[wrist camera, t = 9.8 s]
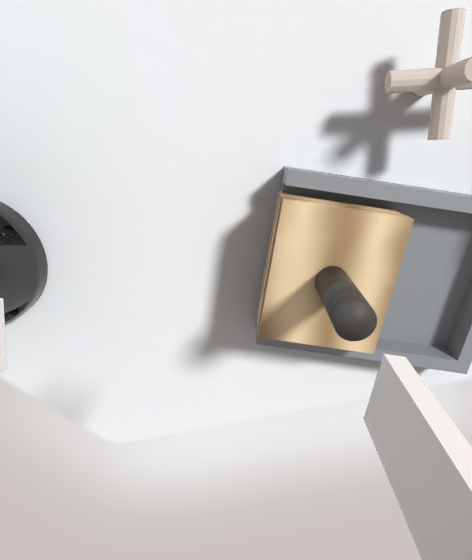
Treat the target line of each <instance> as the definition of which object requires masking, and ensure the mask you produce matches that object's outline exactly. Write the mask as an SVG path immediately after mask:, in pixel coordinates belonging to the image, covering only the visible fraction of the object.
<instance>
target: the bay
mask: <svg viewBox="0 0 472 560" xmlns="http://www.w3.org/2000/svg"><path fill="white" fill-rule="evenodd" d="M280 192H284V193H290V194H297V195H304V196H310V197H317V198H323V199H330V200H336V201H343V202H350V203H356V204H363V205H369V206H376V207H382V208H389V209H393V210H396V211H399V213H401V214H404V215H407V216H409V217H410V218H412V219H414V222H413V225H412V228H411V232H410V235H409V239H408V242H407V245H406V249H405V252H404V255H403V259H402V262H401V265H400V269H399V272H398V275H397V279H396V282H395V285H394V289H393V292H392V295H391V299H390V302H389V305H388V309H387V312H386V315H385V319H384V322H383V325H382V329H381V332H380V335H379V339H378V342H377V345H376V349H375V352H374V354H370V353H363V352H356V351H349V350H343V349H336V348H329V347H322V346H315V345H308V344H301V343H294V342H287V341H281V340H274V339H267V338H260V337H258V333H257V327H258V326H257V322H256V343H257V344H263V345H270V346H277V347H284V348H291V349H298V350H304V351H311V352H318V353H325V354H332V355H339V356H346V357H353V358H360V359H367V360H374V361H380V362H381V361H382V358H383V355H384V354H389V355H396V356H403V357H406V358H407V360H408V361H409V362H410V364H411V365H412V366H415V367H422V368H429V369H436V370H443V371H450V372H456V373H463V374H467V371H468V369H469V366H470V364H471V361H472V195H467V194H460V193H454V192H447V191H441V190H434V189H428V188H421V187H415V186H408V185H402V184H395V183H389V182H382V181H376V180H369V179H363V178H356V177H350V176H343V175H337V174H330V173H323V172H317V171H310V170H304V169H297V168H291V167H284V172H283V178H282V183H281V189H280Z"/></svg>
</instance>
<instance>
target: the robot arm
mask: <svg viewBox="0 0 472 560" xmlns="http://www.w3.org/2000/svg"><path fill="white" fill-rule="evenodd" d="M47 270H48V269H47V259H46V255H45V251H44V248H43V246H42V243H41V241H40V239H39V237H38V236H37V234H36V232H35V231H34V230H33V228H32V227H31V226H30V224H29V223H28V222H27V221H26V220H25V219H24V218H23V217H22V216H21V215H20V214H19V213H17V212H16V211H15V210H13V209H12V208H10V207H9V206H7V205H5V204H4V203H2V202H0V375H1V374H2V373H3V372H4V371H5V370H6V369H7V354H6V337H5V322H8V321H10V320H12V319H14V318H16V317H18V316H19V315H21V314H22V313H23V312H25V311H26V310H27V309H29V308H30V307H31V306H32V305H34V304H35V302H36V301H37V300H38V299H39V297H40V296H41V294H42V292H43V290H44V288H45V284H46V280H47ZM364 420H365V423H366V426H367V428H368V431H369V433H370V435H371V438H372V440H373V443H374V445H375V447H376V450H377V452H378V455H379V457H380V459H381V462H382V464H383V467H384V469H385V471H386V474H387V476H388V479H389V481H390V484H391V486H392V488H393V491H394V493H395V496H396V498H397V500H398V503H399V505H400V508H401V510H402V512H403V515H404V517H405V520H406V522H407V525H408V527H409V529H410V532H411V534H412V537H413V539H414V541H415V544H416V546H417V549H418V551H419V553H420V556H421V558H422V560H472V447H471V446H470V444H469V443H468V442H467V440H466V439H465V438H464V436H463V435H462V433H461V432H460V431H459V429H458V428H457V427H456V425H455V424H454V423H453V421H452V420H451V419H450V417H449V416H448V414H447V413H446V412H445V410H444V409H443V407H442V406H441V405H440V403H439V402H438V401H437V399H436V398H435V397H434V395H433V394H432V393H431V391H430V390H429V388H428V387H427V386H426V384H425V383H424V381H423V380H422V379H421V377H420V376H419V375H418V373H417V372H416V370H415V369H414V368H413V366H412V365H411V364H410V362H409V361H408V360H407V358H406V357H403V356H396V355H389V354H384V355H383V358H382V361H381V364H380V368H379V371H378V374H377V377H376V380H375V384H374V387H373V390H372V393H371V397H370V400H369V403H368V407H367V410H366V413H365V416H364Z"/></svg>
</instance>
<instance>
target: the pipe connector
mask: <svg viewBox="0 0 472 560" xmlns="http://www.w3.org/2000/svg"><path fill="white" fill-rule="evenodd" d="M465 12H466V9H465V8H455V9H450V10H446V11H444V12H442V13H441V18H440V28H439V37H438V46H437V55H436V65H435V68H426V69H408V70H390V71H388V72H387V74H386V77H385V82H384V90H385V93H387V94H390V93H408V92H414V94H415V95H417V96H424V95H428V94H432V102H431V111H430V120H429V130H428V139H427V140H440V139H450V131H451V123H452V115H453V107H454V99H455V91H456V90H464V89H472V57H470V58H467V59H465V60H462V61H459V60H460V52H461V44H462V36H463V28H464V20H465Z"/></svg>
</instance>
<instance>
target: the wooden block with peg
mask: <svg viewBox="0 0 472 560" xmlns="http://www.w3.org/2000/svg"><path fill="white" fill-rule="evenodd" d="M413 222H414V219H412V218H410V217H409V216H407V215H404V214H401V213H399V211H396V210H393V209H389V208H382V207H376V206H369V205H363V204H356V203H350V202H343V201H336V200H330V199H323V198H317V197H310V196H304V195H297V194H290V193H284V192H278V198H277V203H276V209H275V214H274V220H273V226H272V231H271V237H270V242H269V248H268V254H267V259H266V265H265V270H264V276H263V282H262V287H261V293H260V298H259V304H258V310H257V326H258V327H257V333H258V337H260V338H267V339H274V340H281V341H287V342H294V343H301V344H308V345H315V346H322V347H329V348H336V349H343V350H349V351H356V352H363V353H370V354H374V352H375V349H376V345H377V342H378V339H379V335H380V332H381V329H382V325H383V322H384V319H385V315H386V312H387V309H388V305H389V302H390V299H391V295H392V292H393V289H394V285H395V282H396V279H397V275H398V272H399V269H400V265H401V262H402V259H403V255H404V252H405V249H406V245H407V242H408V239H409V235H410V232H411V228H412V225H413Z"/></svg>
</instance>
